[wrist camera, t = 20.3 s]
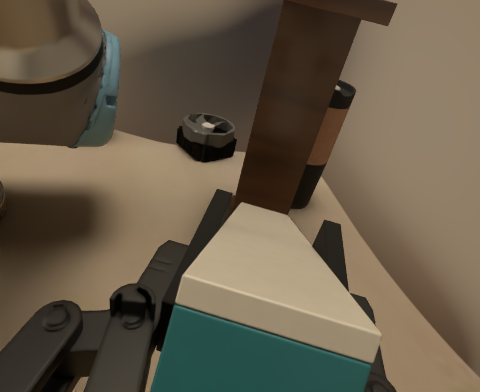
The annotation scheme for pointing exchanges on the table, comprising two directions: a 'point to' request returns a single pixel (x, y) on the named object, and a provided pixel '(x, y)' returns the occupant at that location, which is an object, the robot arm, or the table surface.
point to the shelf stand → (299, 94)
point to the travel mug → (324, 142)
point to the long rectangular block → (264, 316)
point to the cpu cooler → (206, 136)
